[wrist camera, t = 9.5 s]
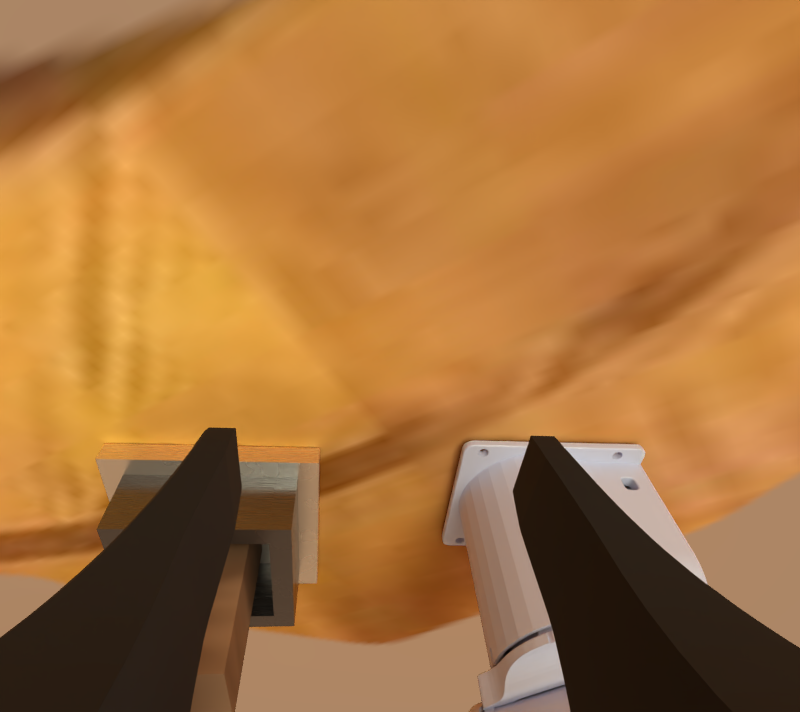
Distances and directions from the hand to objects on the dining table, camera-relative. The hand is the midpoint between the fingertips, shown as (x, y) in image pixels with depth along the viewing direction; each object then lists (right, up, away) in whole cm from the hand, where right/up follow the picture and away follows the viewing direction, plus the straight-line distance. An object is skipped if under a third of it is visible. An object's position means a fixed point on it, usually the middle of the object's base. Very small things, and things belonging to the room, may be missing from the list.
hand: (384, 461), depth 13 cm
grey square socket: (-9, -6, +15) cm, 18 cm away
